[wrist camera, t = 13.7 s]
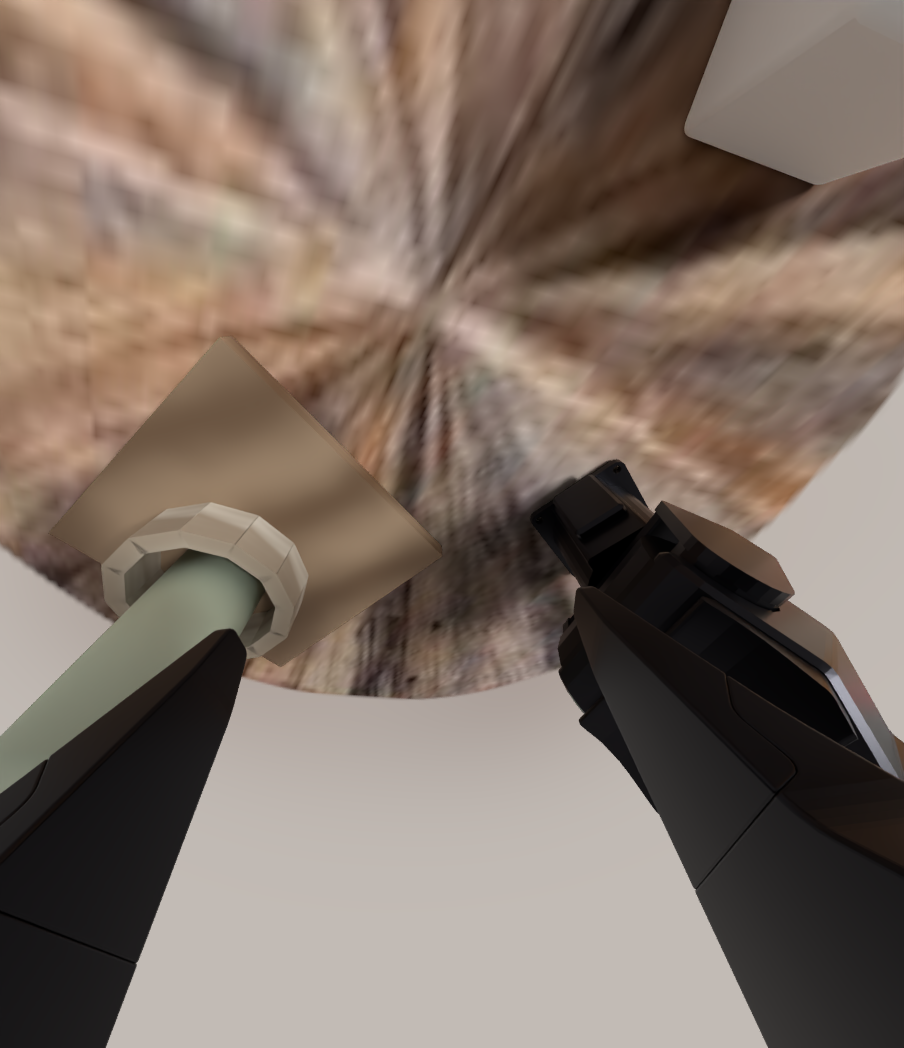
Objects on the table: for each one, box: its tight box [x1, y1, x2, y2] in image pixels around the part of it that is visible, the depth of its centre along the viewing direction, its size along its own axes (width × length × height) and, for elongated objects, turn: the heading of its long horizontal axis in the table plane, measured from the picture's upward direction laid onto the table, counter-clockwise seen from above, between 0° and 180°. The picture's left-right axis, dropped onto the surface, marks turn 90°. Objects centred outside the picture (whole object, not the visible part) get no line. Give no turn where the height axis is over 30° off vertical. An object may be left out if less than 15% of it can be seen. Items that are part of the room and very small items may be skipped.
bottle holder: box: [49, 336, 442, 667], centre depth 21 cm, size 16×16×4 cm
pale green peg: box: [0, 549, 266, 793], centre depth 17 cm, size 5×5×12 cm
